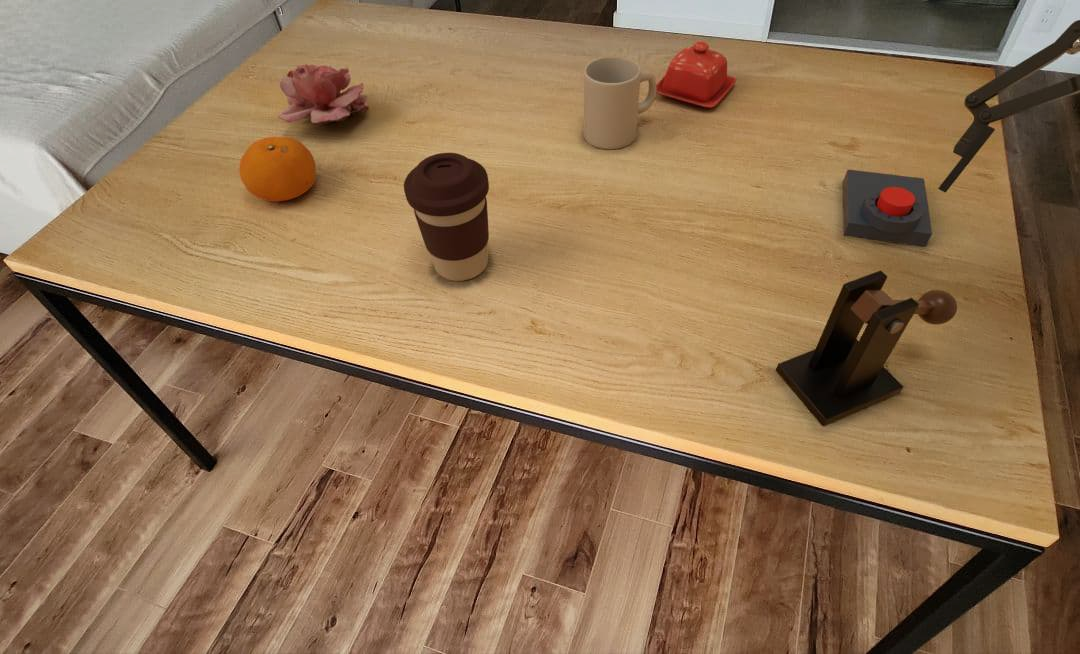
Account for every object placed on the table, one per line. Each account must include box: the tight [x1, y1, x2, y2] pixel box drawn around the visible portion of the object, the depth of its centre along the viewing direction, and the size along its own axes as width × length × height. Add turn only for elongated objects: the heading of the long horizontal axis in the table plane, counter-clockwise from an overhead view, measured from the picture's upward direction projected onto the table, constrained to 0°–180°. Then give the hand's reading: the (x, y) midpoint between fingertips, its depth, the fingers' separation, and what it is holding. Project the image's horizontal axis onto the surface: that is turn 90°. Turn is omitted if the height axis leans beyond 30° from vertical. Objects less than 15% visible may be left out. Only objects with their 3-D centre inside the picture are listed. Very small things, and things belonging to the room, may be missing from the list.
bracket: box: [775, 270, 919, 427], centre depth 65 cm, size 10×8×14 cm
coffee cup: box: [403, 152, 490, 282], centre depth 80 cm, size 10×10×15 cm
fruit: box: [238, 136, 317, 202], centre depth 95 cm, size 10×10×8 cm
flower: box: [278, 63, 370, 124], centre depth 107 cm, size 15×15×10 cm
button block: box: [842, 168, 933, 247], centre depth 86 cm, size 13×10×4 cm
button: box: [877, 187, 915, 217], centre depth 82 cm, size 4×4×2 cm
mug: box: [582, 56, 657, 150], centre depth 100 cm, size 12×8×11 cm
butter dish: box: [656, 40, 737, 109], centre depth 108 cm, size 12×12×8 cm
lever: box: [850, 289, 958, 326], centre depth 64 cm, size 14×4×4 cm, turn 113°
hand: (1010, 228), depth 60 cm, fingers open, 13 cm apart
